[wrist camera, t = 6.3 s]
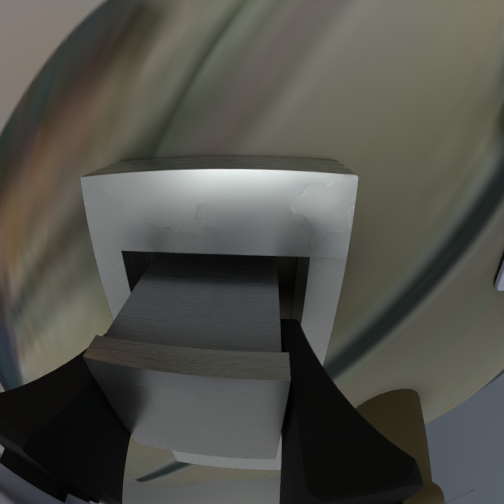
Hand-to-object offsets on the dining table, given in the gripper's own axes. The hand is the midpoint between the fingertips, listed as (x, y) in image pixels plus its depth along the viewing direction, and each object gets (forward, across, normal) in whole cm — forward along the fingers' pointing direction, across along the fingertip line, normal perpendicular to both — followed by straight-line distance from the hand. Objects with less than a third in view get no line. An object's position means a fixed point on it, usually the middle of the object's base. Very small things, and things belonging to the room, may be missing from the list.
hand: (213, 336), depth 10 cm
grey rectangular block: (+3, 0, 0) cm, 3 cm away
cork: (+4, -12, +12) cm, 17 cm away
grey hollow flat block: (+3, 0, +5) cm, 6 cm away
